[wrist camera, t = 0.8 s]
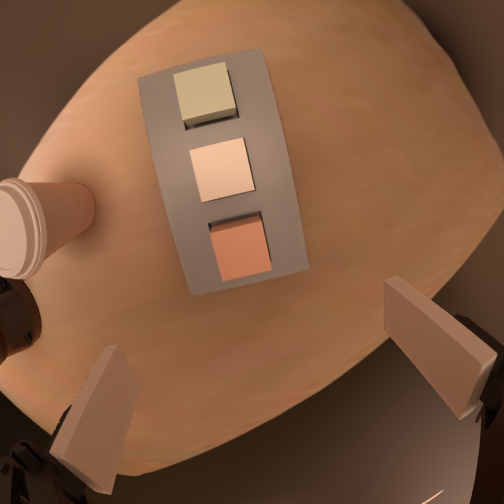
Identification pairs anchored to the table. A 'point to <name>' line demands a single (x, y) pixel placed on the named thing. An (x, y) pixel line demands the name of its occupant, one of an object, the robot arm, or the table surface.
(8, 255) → the coffee cup
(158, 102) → the keypad board
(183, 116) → the sage key
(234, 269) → the terracotta key
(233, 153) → the ivory key
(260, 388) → the table surface
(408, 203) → the table surface
